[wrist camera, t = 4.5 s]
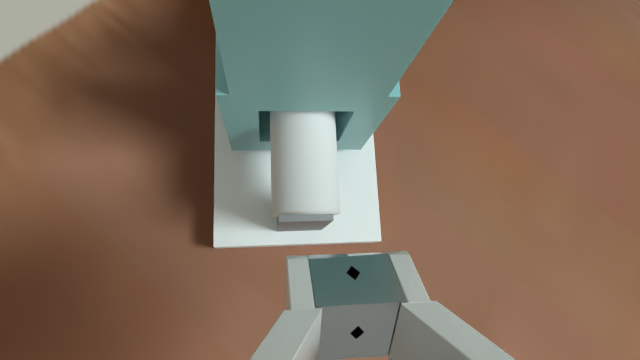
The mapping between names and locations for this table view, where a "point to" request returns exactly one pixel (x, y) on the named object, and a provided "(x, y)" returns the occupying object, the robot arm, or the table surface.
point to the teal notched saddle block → (315, 61)
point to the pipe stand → (294, 186)
